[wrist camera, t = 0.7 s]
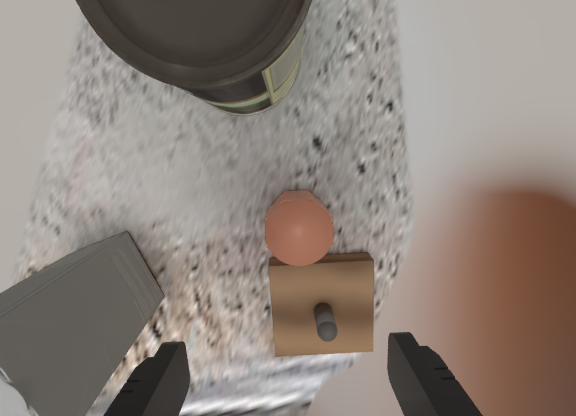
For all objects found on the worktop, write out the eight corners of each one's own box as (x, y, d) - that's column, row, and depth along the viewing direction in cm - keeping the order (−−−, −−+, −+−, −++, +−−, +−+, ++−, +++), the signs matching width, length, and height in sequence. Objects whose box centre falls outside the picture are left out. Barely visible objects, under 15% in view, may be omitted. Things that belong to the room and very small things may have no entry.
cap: (266, 192, 28) (262, 202, 23) (324, 188, 28) (333, 198, 23) (270, 246, 29) (267, 268, 24) (326, 243, 29) (334, 264, 24)
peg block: (269, 258, 29) (265, 287, 23) (368, 252, 29) (388, 280, 23) (276, 343, 31) (274, 389, 25) (367, 338, 31) (386, 383, 25)
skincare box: (73, 251, 29) (-172, 375, 13) (136, 226, 28) (-43, 326, 13) (114, 320, 31) (-61, 501, 15) (174, 298, 30) (57, 462, 15)
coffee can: (227, 138, 26) (163, 133, 13) (159, 33, 24) (-3, -107, 11) (323, 75, 25) (367, -5, 12) (260, -40, 23) (222, -302, 10)
